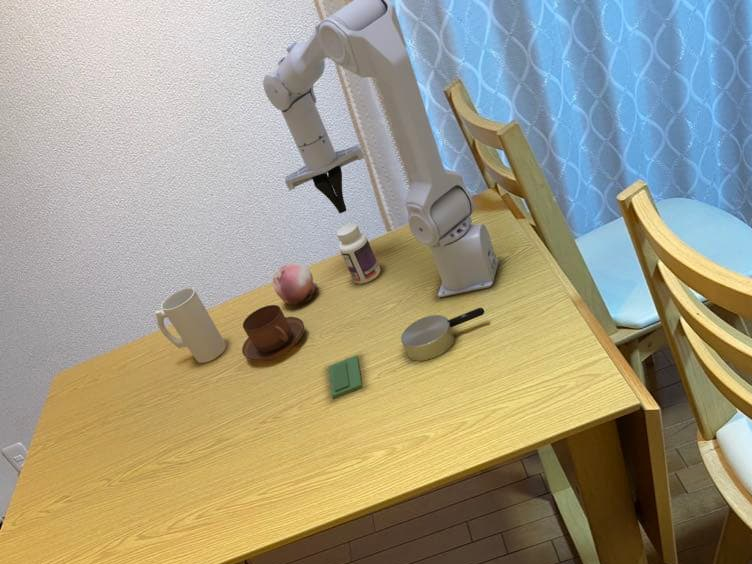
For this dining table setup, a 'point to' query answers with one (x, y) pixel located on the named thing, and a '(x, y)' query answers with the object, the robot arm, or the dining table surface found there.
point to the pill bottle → (357, 254)
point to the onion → (294, 284)
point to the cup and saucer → (270, 333)
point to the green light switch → (345, 377)
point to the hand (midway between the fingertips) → (342, 210)
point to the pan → (433, 335)
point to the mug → (191, 325)
